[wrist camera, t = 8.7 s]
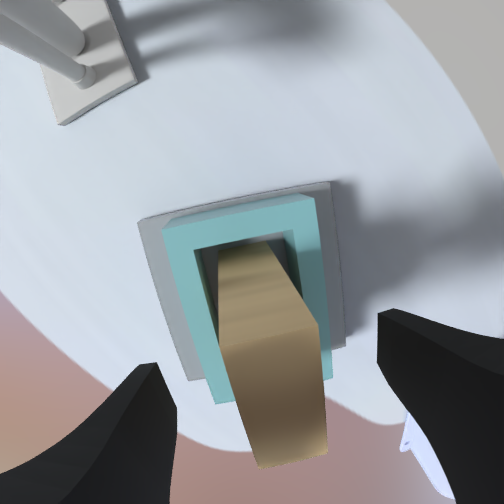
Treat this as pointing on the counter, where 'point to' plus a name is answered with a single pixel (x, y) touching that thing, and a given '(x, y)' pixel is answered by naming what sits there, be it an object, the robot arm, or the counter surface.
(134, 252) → the counter surface
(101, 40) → the test tube rack
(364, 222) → the counter surface
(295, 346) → the plank
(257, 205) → the stand
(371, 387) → the counter surface
